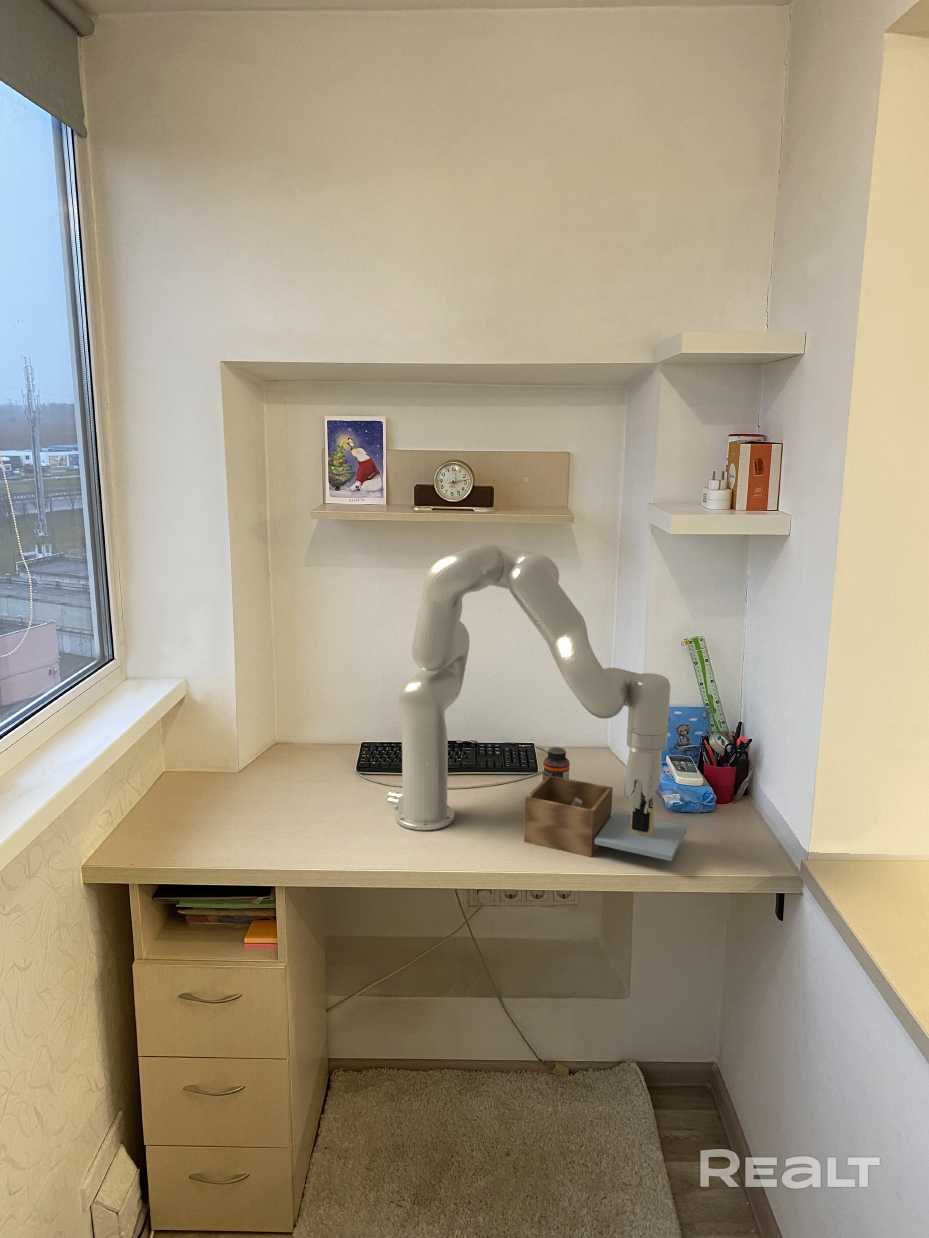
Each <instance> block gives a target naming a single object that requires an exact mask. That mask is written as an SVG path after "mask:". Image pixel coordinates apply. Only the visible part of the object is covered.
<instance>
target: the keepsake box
mask: <svg viewBox="0 0 929 1238" xmlns="http://www.w3.org/2000/svg"><path fill="white" fill-rule="evenodd" d="M542 780H543V779H542ZM575 798H578V799H581V800H582V805H581V807H576V806H571V805H572V803H573V801H574V799H575ZM524 804H525V806H524V839H523V841H524V842H523V843H528V844H533V845H536V846H542V847H545V848H550V849H555V850H558V851H563V852H568V853H572V854H576V855H581V856H586V857H588V858H592V857H593V855H594V854H595V852H596V851H597V850H598V849H599V847H600V846H601V845H597V844H595V838H596V837H597V835H598V834H599V833H600V831H601V830H602V829H603V827H604V826H605V825H606V823H607V822H608V821H609V819H610V818H611V817H612V810H613V809H612V804H613V787H612V786H607V785H602V784H596V783H591V782H586V781H580V780H575V779H571V778H569V779H565V778H560V777H555V776H550V775H548V776H547V777H546V778H545V779H544V780H543V781H541V782H540V783H539V784H538V785H537V786H535V788H533V790H532V791H531V792H530V793H528V795H526V796H525V803H524Z"/></svg>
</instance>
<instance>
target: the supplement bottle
mask: <svg viewBox="0 0 929 1238" xmlns="http://www.w3.org/2000/svg"><path fill="white" fill-rule="evenodd" d="M566 751H567V750H566V749H564V748H563V747H559V746H558V747H557V746H556V747H555V746H553V747H550V748H548V749H547V756H546V757H544V759H543V762H542V763H543V764H542V781H543V780H544V779H545V778H546V777H547V776H548V775H550V776H555V777H560V778H565V779H570V767H571V765H570V760H569V759H568V758H567V757H566V756H567V752H566ZM542 781H541V782H542Z"/></svg>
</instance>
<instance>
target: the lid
mask: <svg viewBox="0 0 929 1238" xmlns="http://www.w3.org/2000/svg"><path fill="white" fill-rule="evenodd" d="M648 812H650V817H649V831H648V832H642V831H637V830H633V829H632V815H633V807H632V808H631V814H628V813H623V812H617V811H614V813H613V814H611V818H610V819H609V821H608V822H607V823H606V825H605V826H604V827H603V829H602V830H601V831H600V833H599V834H598V835H597V837H596V838H595V844H597V845H600V846H603V847H607V848H611V849H615V850H620V851H624V852H629V853H632V854H633V853H634V854H638V855H642V856H645V857H646V856H647V857H651V858H656V859H660V860H664V861H670V862H672V861H673V859H674V857H675V855H676V853H677V851H678V849H679V847H680V845H681V844H682V841H683V839H684V837H685V836H686V834H687V832H688V826H687V825H681V824H677V823H676V824H675V823H672V822H666V821H661V820H658V819H655V813H656V812H655V808H653V809H651V808H648Z"/></svg>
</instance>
